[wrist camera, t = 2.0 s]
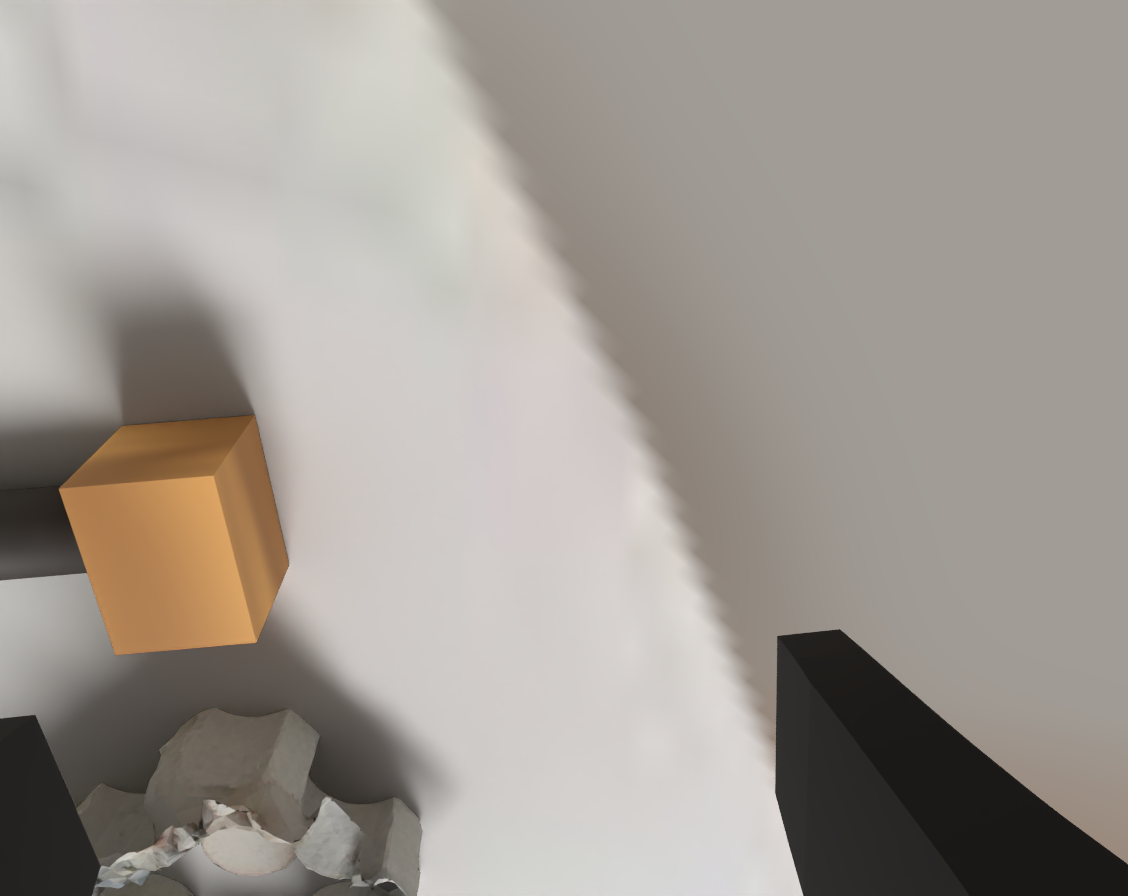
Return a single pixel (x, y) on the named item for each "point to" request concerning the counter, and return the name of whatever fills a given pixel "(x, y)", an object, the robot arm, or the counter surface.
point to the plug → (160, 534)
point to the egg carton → (247, 814)
